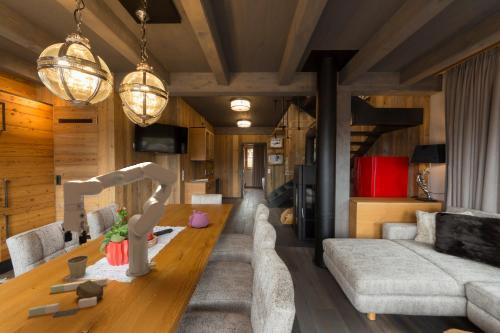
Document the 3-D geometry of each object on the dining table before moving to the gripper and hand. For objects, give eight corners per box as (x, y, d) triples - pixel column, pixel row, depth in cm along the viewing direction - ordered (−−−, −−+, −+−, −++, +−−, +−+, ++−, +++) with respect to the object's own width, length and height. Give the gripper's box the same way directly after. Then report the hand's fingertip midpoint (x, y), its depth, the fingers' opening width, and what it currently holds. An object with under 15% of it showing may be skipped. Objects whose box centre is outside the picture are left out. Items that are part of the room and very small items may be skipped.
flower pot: (62, 280, 113) (62, 263, 112) (72, 271, 122) (71, 256, 122) (84, 278, 115) (83, 261, 115) (91, 269, 124) (91, 254, 124)
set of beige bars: (107, 283, 110) (107, 277, 110) (95, 305, 93) (95, 298, 93) (52, 292, 103) (52, 285, 103) (28, 317, 86) (28, 310, 86)
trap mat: (80, 308, 91) (80, 307, 91) (76, 314, 88) (76, 313, 88) (56, 312, 89) (56, 312, 89) (51, 319, 85) (50, 318, 85)
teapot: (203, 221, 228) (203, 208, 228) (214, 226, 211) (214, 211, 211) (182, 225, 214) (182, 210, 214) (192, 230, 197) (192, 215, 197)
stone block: (88, 289, 103) (89, 278, 103) (104, 297, 99) (105, 286, 99) (74, 295, 98) (75, 284, 98) (90, 304, 93) (91, 293, 93)
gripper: (95, 206, 105) (96, 241, 106) (70, 204, 110) (71, 238, 111) (79, 209, 98) (80, 247, 98) (52, 207, 103) (54, 243, 104)
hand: (75, 242), depth 105 cm, fingers open, 9 cm apart
